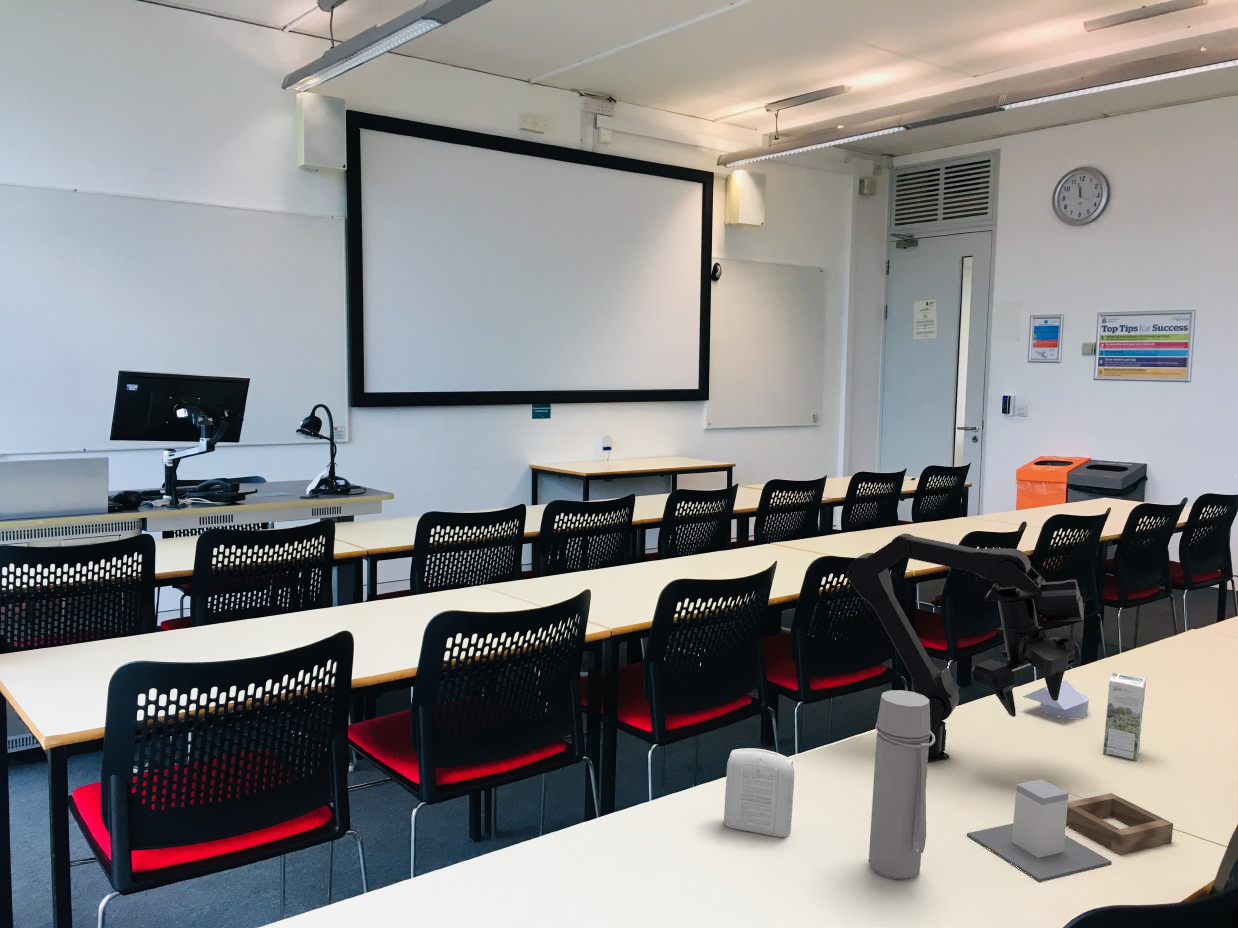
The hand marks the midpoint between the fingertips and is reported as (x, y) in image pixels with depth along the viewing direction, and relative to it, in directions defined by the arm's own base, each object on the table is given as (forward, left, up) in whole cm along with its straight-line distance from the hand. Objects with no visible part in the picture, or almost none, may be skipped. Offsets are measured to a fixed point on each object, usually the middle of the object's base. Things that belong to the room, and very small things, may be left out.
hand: (1034, 707), depth 172 cm
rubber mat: (-20, -21, -12) cm, 31 cm away
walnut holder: (-4, -21, -12) cm, 25 cm away
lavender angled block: (+30, +21, -12) cm, 39 cm away
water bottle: (-44, -19, -12) cm, 49 cm away
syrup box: (+24, +1, -12) cm, 27 cm away
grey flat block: (-56, -1, -12) cm, 57 cm away
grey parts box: (-20, -21, -12) cm, 31 cm away
